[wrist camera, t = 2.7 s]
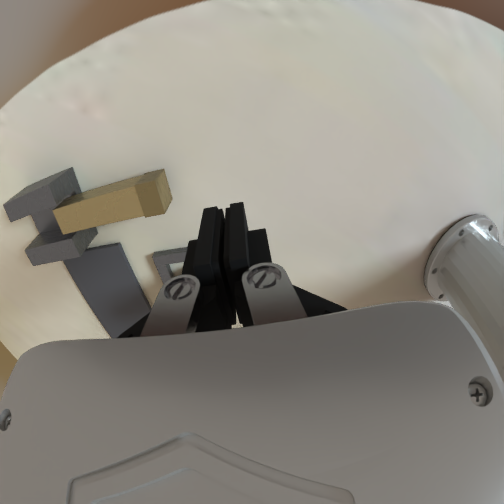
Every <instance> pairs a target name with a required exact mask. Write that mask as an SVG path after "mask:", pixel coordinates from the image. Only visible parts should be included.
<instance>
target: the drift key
mask: <svg viewBox="0 0 504 504" xmlns="http://www.w3.org/2000/svg"><path fill="white" fill-rule="evenodd" d="M171 201H172V195H171V192H170V188H169V185H168V181H167V178H166V174H165V170H164V169H160V170H156V171H152V172H148V173H145V174H144V175H142V176H138V177H135V178H131V179H127V180H123V181H120V182H116V183H113V184H109V185H106V186H102V187H99V188H96V189H92V190H89V191H86V192H83V193H80V194H77V195H74V196H71V197H68V198H65V199H64V200H63V201H62V202H61V203H60V204H59V205H58V206H57V207H56V208H54V209H53V210H52V211H53V213H54V215H55V218H56V220H57V222H58V224H59V227H60V229H61V231H62V233H63V235H64V234H68V233H72V232H76V231H80V230H84V229H88V228H92V227H96V226H101V225H105V224H109V223H114V222H118V221H123V220H127V219H132V218H137V217H142V216H145V218H146V217H151V216H156V215H161V214H165V212H166V210H167V209H168V207H169V205H170V203H171Z"/></svg>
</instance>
